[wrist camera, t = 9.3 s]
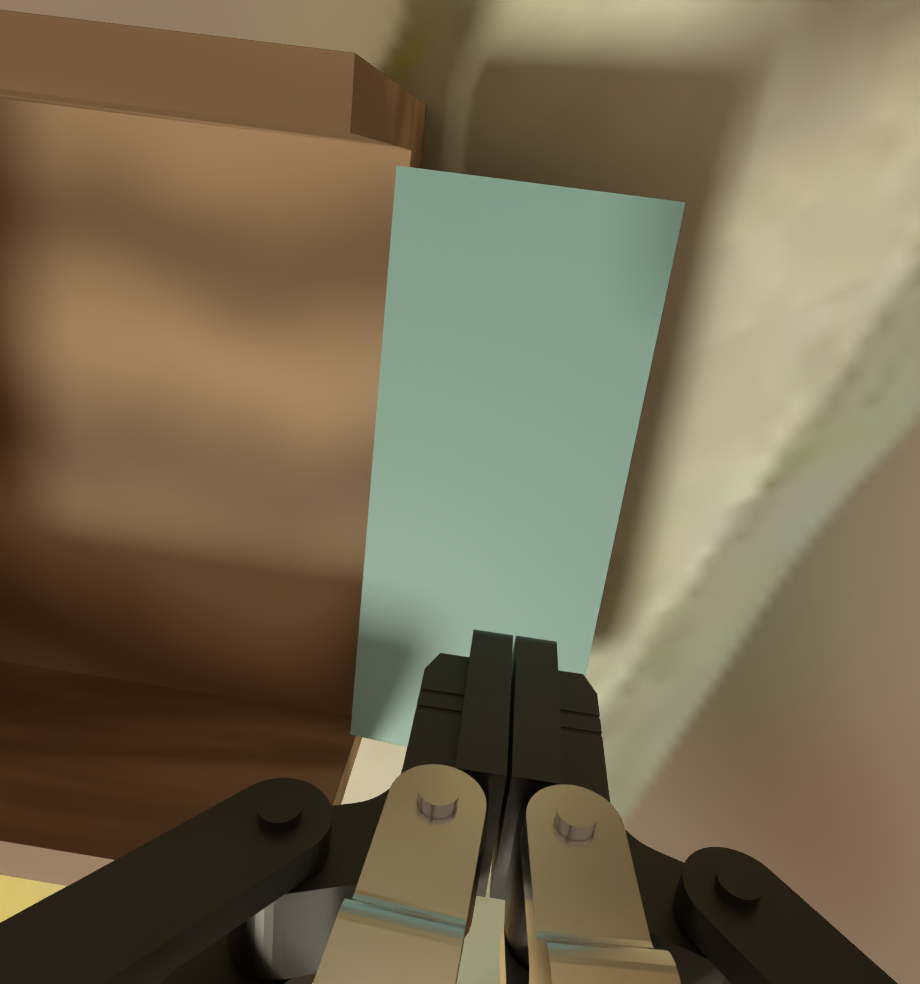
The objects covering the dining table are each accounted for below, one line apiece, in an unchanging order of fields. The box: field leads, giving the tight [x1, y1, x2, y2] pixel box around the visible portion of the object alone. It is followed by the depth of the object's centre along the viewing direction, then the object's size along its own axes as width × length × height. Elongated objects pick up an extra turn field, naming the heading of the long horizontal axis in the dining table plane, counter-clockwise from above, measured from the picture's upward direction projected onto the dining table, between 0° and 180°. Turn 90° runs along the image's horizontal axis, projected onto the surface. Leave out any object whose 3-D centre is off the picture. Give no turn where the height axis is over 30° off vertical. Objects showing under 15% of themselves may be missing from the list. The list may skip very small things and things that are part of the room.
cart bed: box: [0, 10, 426, 886], centre depth 21 cm, size 20×14×9 cm
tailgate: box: [350, 166, 686, 747], centre depth 22 cm, size 17×2×7 cm
